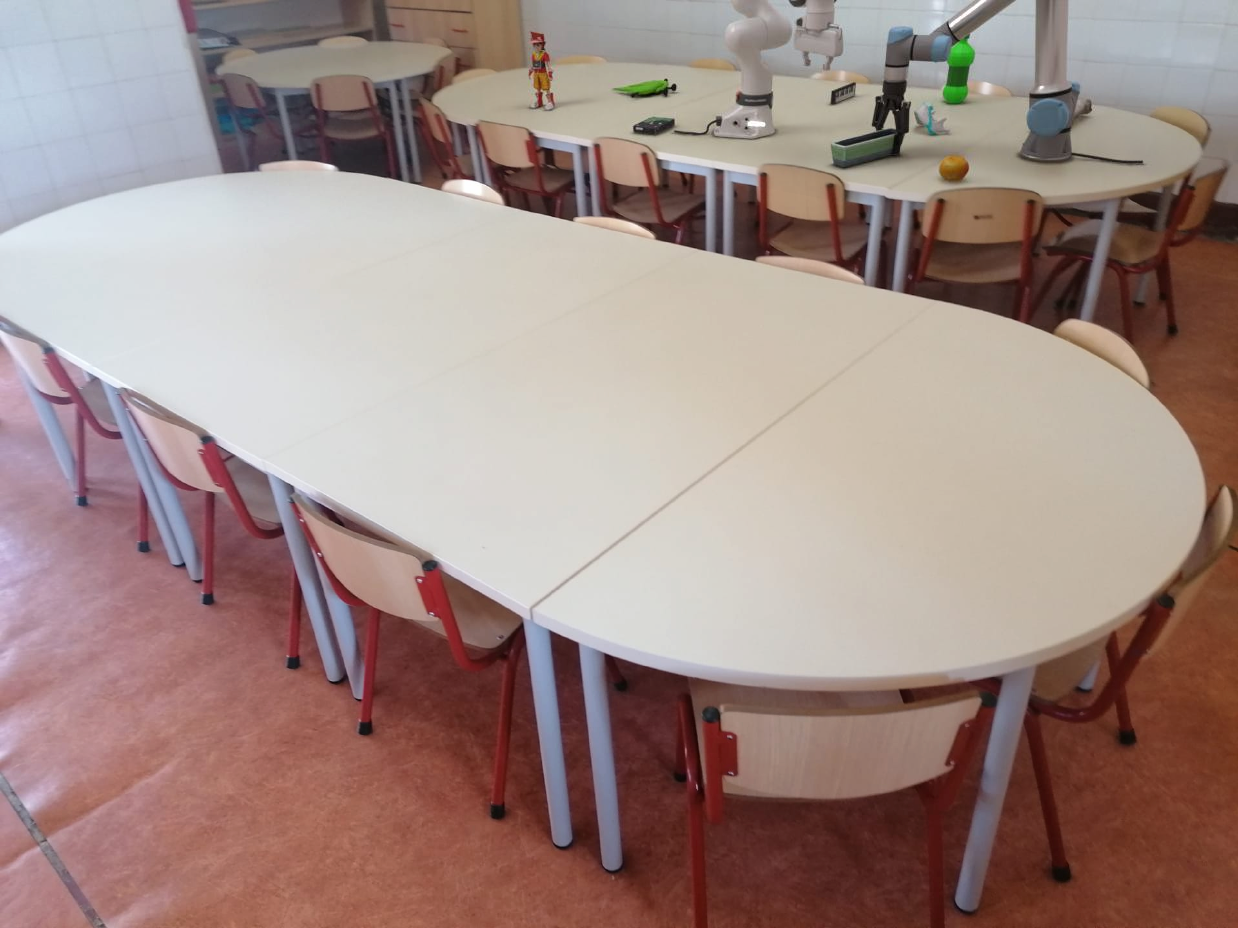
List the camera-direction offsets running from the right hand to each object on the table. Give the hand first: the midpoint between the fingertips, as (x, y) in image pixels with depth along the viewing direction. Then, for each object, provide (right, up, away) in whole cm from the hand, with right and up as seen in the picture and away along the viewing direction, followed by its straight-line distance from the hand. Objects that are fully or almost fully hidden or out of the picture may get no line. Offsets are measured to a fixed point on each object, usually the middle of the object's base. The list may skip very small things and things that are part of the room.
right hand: (887, 151), depth 303 cm
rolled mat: (+68, +16, +19) cm, 73 cm away
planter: (-8, -4, -3) cm, 10 cm away
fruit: (+13, -18, -25) cm, 33 cm away
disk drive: (-77, +23, +41) cm, 91 cm away
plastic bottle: (+42, +38, +52) cm, 76 cm away
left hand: (-26, +24, -9) cm, 37 cm away
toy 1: (-124, +47, +80) cm, 154 cm away
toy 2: (-81, +59, +94) cm, 137 cm away
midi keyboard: (+1, +43, +64) cm, 77 cm away
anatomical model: (+21, +15, +21) cm, 33 cm away
